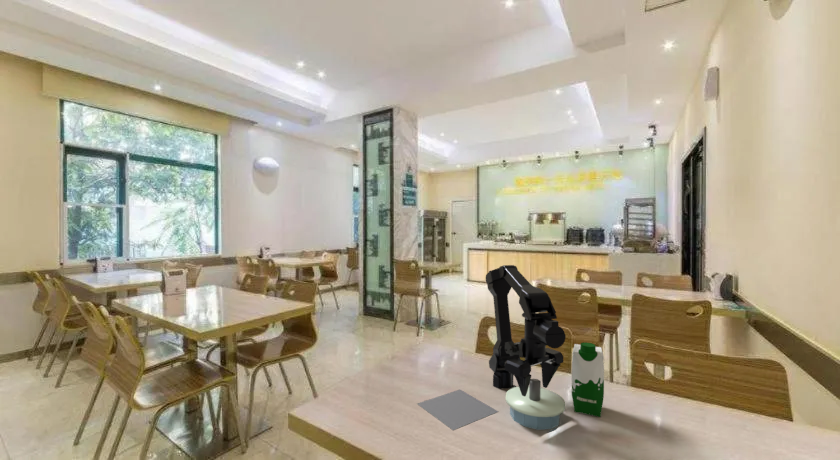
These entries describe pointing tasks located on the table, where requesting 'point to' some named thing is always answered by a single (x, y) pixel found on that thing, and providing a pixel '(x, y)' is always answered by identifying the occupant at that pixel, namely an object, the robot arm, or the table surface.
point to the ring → (535, 420)
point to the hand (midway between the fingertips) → (534, 391)
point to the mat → (457, 409)
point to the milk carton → (587, 379)
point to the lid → (536, 401)
